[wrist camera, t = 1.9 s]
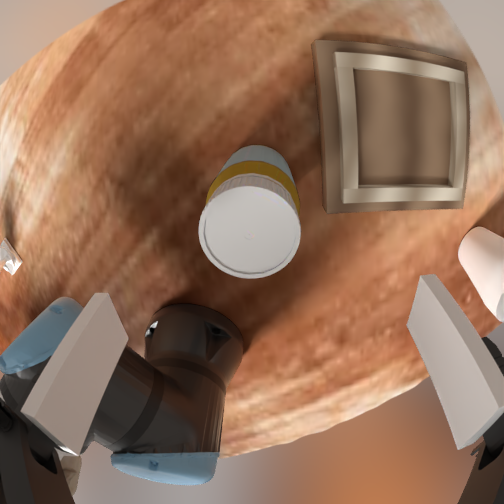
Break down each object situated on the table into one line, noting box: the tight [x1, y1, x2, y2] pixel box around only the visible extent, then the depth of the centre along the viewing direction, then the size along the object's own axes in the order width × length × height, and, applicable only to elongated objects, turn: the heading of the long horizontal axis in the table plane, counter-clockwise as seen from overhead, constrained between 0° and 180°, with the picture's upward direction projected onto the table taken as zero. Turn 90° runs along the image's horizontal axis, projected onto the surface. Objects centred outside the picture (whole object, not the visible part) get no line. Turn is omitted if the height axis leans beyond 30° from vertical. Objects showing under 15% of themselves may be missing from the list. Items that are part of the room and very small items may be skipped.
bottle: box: [198, 145, 301, 279], centre depth 24 cm, size 7×7×15 cm
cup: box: [458, 227, 504, 322], centre depth 27 cm, size 9×9×12 cm
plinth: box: [311, 40, 470, 214], centre depth 25 cm, size 18×18×4 cm
